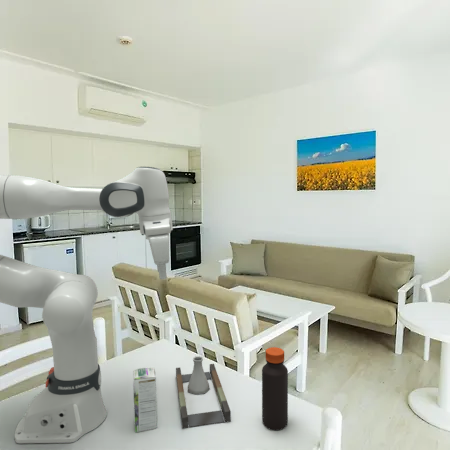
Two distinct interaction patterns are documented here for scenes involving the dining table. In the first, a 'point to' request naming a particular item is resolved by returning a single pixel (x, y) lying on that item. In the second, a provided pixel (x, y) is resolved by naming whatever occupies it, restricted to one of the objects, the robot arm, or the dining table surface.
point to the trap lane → (206, 417)
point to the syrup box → (145, 399)
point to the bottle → (274, 390)
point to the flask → (198, 378)
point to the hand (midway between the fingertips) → (162, 274)
